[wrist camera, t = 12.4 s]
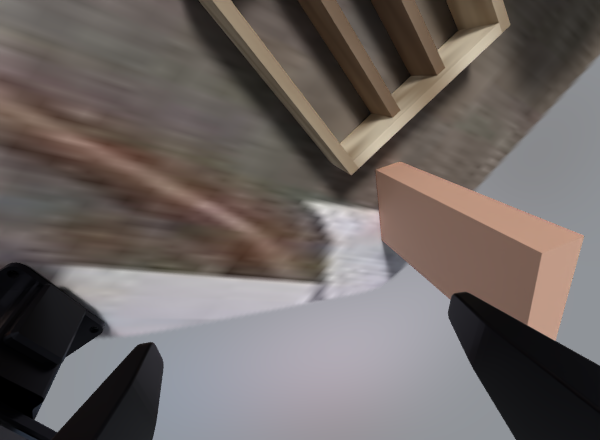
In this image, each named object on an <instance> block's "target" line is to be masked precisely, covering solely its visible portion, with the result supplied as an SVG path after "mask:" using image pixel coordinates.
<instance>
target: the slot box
mask: <svg viewBox="0 0 600 440" xmlns="http://www.w3.org/2000/svg"><path fill="white" fill-rule="evenodd" d="M199 2H200V3H201V4H202V5H203V7H204V8H205V9H206V10H207V12H208V13H209V14H210V15H211V16H212V18H213V19H214V20H215V21H216V23H217V24H218V25H219V26H220V27H221V29H222V30H223V31H224V32H225V34H226V35H227V36H228V37H229V38H230V40H231V41H232V42H233V43H234V45H235V46H236V47H237V48H238V49H239V51H240V52H241V53H242V54H243V56H244V57H245V58H246V59H247V61H248V62H249V63H250V64H251V65H252V67H253V68H254V69H255V70H256V72H257V73H258V74H259V75H260V76H261V78H262V79H263V80H264V81H265V83H266V84H267V85H268V86H269V87H270V89H271V90H272V91H273V92H274V94H275V95H276V96H277V97H278V99H279V100H280V101H281V102H282V103H283V105H284V106H285V107H286V108H287V110H288V111H289V112H290V113H291V114H292V116H293V117H294V118H295V119H296V121H297V122H298V123H299V124H300V125H301V127H302V128H303V129H304V130H305V132H306V133H307V134H308V135H309V136H310V138H311V139H312V140H313V141H314V143H315V144H316V145H317V146H318V148H319V149H320V150H321V151H322V152H323V154H324V155H325V156H326V157H327V159H328V160H329V161H330V162H331V163H332V164H333V165H335V166H337V167H338V168H340V169H341V170H343V171H345V172H346V173H348V174H350V175H352V174H353V173H354V172H355V171H356V170H358V169H359V168H360V167H361V166H362V165H363V164H364V163H365V162H366V161H367V160H368V159H369V158H370V157H371V156H372V155H373V154H374V153H376V152H377V151H378V150H379V149H380V148H381V147H382V146H383V145H384V144H385V143H386V142H387V141H388V140H389V139H390V138H391V137H392V136H394V135H395V134H396V133H397V132H398V131H399V130H400V129H401V128H402V127H403V126H404V125H405V124H406V123H407V122H408V121H409V120H410V119H412V118H413V117H414V116H415V115H416V114H417V113H418V112H419V111H420V110H421V109H422V108H423V107H424V106H425V105H426V104H427V103H428V102H430V101H431V100H432V99H433V98H434V97H435V96H436V95H437V94H438V93H439V92H440V91H441V90H442V89H443V88H444V87H445V86H446V85H448V84H449V83H450V82H451V81H452V80H453V79H454V78H455V77H456V76H457V75H458V74H459V73H460V72H461V71H462V70H463V69H464V68H466V67H467V66H468V65H469V64H470V63H471V62H472V61H473V60H474V59H475V58H476V57H477V56H478V55H479V54H480V53H481V52H482V51H484V50H485V49H486V48H487V47H488V46H489V45H490V44H491V43H492V42H493V41H494V40H495V39H496V38H497V37H498V36H499V35H501V34H502V33H503V32H504V31H505V30H506V29H507V28H508V27H509V26H510V22H509V18H508V15H507V12H506V9H505V5H504V2H503V0H446V2H447V4H448V7H449V9H450V12H451V14H452V16H453V19H454V21H455V24H456V26H457V29H458V31H457V32H456V33H455V34H454V35H453V36H452V37H451V38H450V39H449V40H448V41H447V42H446V43H444V44H443V45H442V46H441V47H440V48H439V49H438V50H437V48H436V46H435V44H434V42H433V40H432V38H431V35H430V33H429V31H428V29H427V27H426V24H425V22H424V20H423V18H422V16H421V13H420V11H419V9H418V7H417V5H416V2H415V0H371V2H372V4H373V6H374V8H375V10H376V11H377V13H378V15H379V17H380V19H381V21H382V23H383V25H384V27H385V28H386V30H387V32H388V34H389V36H390V38H391V40H392V42H393V44H394V45H395V47H396V49H397V51H398V53H399V55H400V57H401V59H402V61H403V62H404V64H405V66H406V68H407V70H408V72H409V74H410V77H409V78H408V79H407V80H406V81H405V82H404V83H403V84H402V85H401V86H400V87H399V88H397V89H396V90H395V91H394V92H393V93H392V94H391V93H390V91H389V90H388V88H387V86H386V85H385V83H384V81H383V80H382V78H381V76H380V74H379V73H378V71H377V69H376V68H375V66H374V64H373V63H372V61H371V59H370V57H369V56H368V54H367V52H366V51H365V49H364V47H363V45H362V44H361V42H360V40H359V39H358V37H357V35H356V34H355V32H354V30H353V28H352V27H351V25H350V23H349V22H348V20H347V18H346V17H345V15H344V13H343V11H342V10H341V8H340V6H339V5H338V3H337V1H336V0H298V2H299V3H300V5H301V6H302V8H303V10H304V11H305V13H306V14H307V16H308V17H309V19H310V20H311V22H312V23H313V25H314V26H315V28H316V29H317V31H318V33H319V34H320V36H321V37H322V39H323V40H324V42H325V43H326V45H327V46H328V48H329V49H330V51H331V53H332V54H333V56H334V57H335V59H336V60H337V62H338V63H339V65H340V66H341V68H342V69H343V71H344V72H345V74H346V76H347V77H348V79H349V80H350V82H351V83H352V85H353V86H354V88H355V89H356V91H357V92H358V94H359V96H360V97H361V99H362V100H363V102H364V103H365V105H366V106H367V108H368V109H369V111H370V112H371V114H370V115H369V116H368V117H367V118H366V119H365V120H364V121H363V122H362V123H361V124H360V125H359V126H358V127H357V128H356V129H355V130H354V131H353V132H351V133H350V134H349V135H348V136H347V137H346V138H345V139H344V140H343V141H342V142H341V143H339V142H338V140H337V139H336V138H335V136H334V135H333V134H332V132H331V131H330V130H329V129H328V127H327V126H326V125H325V123H324V122H323V121H322V119H321V118H320V117H319V115H318V114H317V113H316V111H315V110H314V109H313V108H312V106H311V105H310V104H309V102H308V101H307V100H306V98H305V97H304V96H303V94H302V93H301V92H300V90H299V89H298V88H297V87H296V85H295V84H294V83H293V81H292V80H291V79H290V77H289V76H288V75H287V73H286V72H285V71H284V69H283V68H282V67H281V66H280V64H279V63H278V62H277V60H276V59H275V58H274V56H273V55H272V54H271V52H270V51H269V50H268V48H267V47H266V46H265V45H264V43H263V42H262V41H261V39H260V38H259V37H258V35H257V34H256V33H255V31H254V30H253V29H252V27H251V26H250V25H249V24H248V22H247V21H246V20H245V18H244V17H243V16H242V14H241V13H240V12H239V10H238V9H237V8H236V7H235V5H234V4H233V3H232V1H231V0H199Z"/></svg>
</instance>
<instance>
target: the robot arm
mask: <svg viewBox="0 0 600 440" xmlns="http://www.w3.org/2000/svg"><path fill="white" fill-rule="evenodd" d="M11 270H15V271H17V272H18V273H19V274H14V273H12V272H11ZM448 316H449V319H450V322H451V324H452V326H453V328H454V330H455V332H456V334H457V336H458V339H459V341H460V342H461V345H462V347H463V349H464V351H465V353H466V355H467V358H468V359H469V361H470V363H471V365H472V367H473V369H474V371H475V373H476V374H477V376H478V377H479V379H480V381H481V383H482V384H483V386H484V388H485V389H486V391H487V392H488V394H489V396H490V397H491V399H492V401H493V402H494V404H495V405H496V407H497V409H498V411H499V412H500V414H501V416H502V417H503V419H504V420H505V422H506V424H507V425H508V427H509V429H510V431H511V432H512V434H513V435H514V437H515V439H516V440H600V366H599V365H597V364H596V363H594V362H592V361H590V360H589V359H587V358H585V357H583V356H581V355H580V354H578V353H576V352H574V351H573V350H571V349H569V348H567V347H565V346H563V345H562V344H560V343H558V342H556V341H555V340H553V339H551V338H549V337H547V336H546V335H544V334H542V333H540V332H539V331H537V330H535V329H533V328H531V327H530V326H528V325H526V324H524V323H522V322H521V321H519V320H517V319H515V318H513V317H512V316H510V315H508V314H506V313H504V312H503V311H501V310H499V309H497V308H495V307H494V306H492V305H490V304H488V303H487V302H485V301H483V300H481V299H479V298H478V297H476V296H474V295H472V294H470V293H468V292H458V293H454V294H453V295H452V296H451V301H450V306H449V310H448ZM104 326H105V325H104V322H103V321H101V320H100V319H99V318H97V317H96V316H94V315H93V314H92V313H90V312H89V311H87V310H86V309H85V308H84V307H83V306H81V305H80V304H78V303H77V302H76V301H74V300H73V299H71V298H70V297H69V296H67V295H66V294H64V293H63V292H62V291H60V290H59V289H58V288H56V287H55V286H53V285H51V284H50V283H48V282H47V281H46V280H44V279H43V278H41V277H40V276H39V275H37V274H36V273H34V272H33V271H32V270H30V269H29V268H27V267H26V266H25V265H23V264H21V263H10V264H8V265H7V266H5V267H4V268H2V269H0V440H152V439H153V435H154V430H155V426H156V420H157V414H158V406H159V398H160V390H161V383H162V375H163V359H162V357H161V355H160V353H159V351H158V349H157V347H156V345H155V344H154V343H153V342H149V343H143V344H139V345H137V346H136V347H135V348H134V349H133V350H132V351H131V353H130V354H129V355H128V356H127V357H126V358H125V359H124V360H123V361H122V362H121V364H120V365H119V366H118V367H117V368H116V369H115V370H114V371H113V372H112V373H111V374H110V376H109V377H108V378H107V379H106V380H105V381H104V382H103V383H102V384H101V385H100V387H99V388H98V389H97V390H96V391H95V392H94V393H93V394H92V395H91V396H90V397H89V399H88V400H87V401H86V402H85V403H84V404H83V405H82V406H81V407H80V408H79V409H78V411H77V412H76V413H75V414H74V415H73V416H72V417H71V418H70V419H69V421H68V422H67V423H66V424H65V425H64V426H63V427H62V428H61V429H60V431H59V432H58V433H57V432H55V431H54V430H52V429H50V428H48V427H46V426H44V425H43V424H41V423H39V422H37V421H35V417H36V415H37V413H38V411H39V409H40V407H41V405H42V403H43V401H44V399H45V397H46V395H47V393H48V391H49V389H50V387H51V385H52V382H53V380H54V378H55V376H56V374H57V372H58V370H59V368H60V365H61V363H62V362H63V361H64V359H65V357H67V356H68V355H70V354H71V353H73V352H74V351H76V350H77V349H79V348H80V347H82V346H83V345H85V344H86V343H88V342H89V341H91V340H92V339H94V338H95V337H97V336H98V335H100V334H101V333H102V332H103V329H104ZM92 327H97V329H94V328H92Z"/></svg>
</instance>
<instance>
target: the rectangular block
mask: <svg viewBox="0 0 600 440" xmlns="http://www.w3.org/2000/svg"><path fill="white" fill-rule="evenodd" d="M375 171H376V182H377V193H378V204H379V215H380V226H381V237H382V241H383V242H384V243H385V244H387V245H388V246H389V247H390V248H391V249H392V250H394V251H395V252H396V253H397V254H398V255H399V256H401V257H402V258H403V259H404V260H405V261H406V262H407V263H409V264H410V265H411V266H412V267H413V268H414V269H416V270H417V271H418V272H419V273H420V274H421V275H423V276H424V277H425V278H426V279H427V280H428V281H430V282H431V283H432V284H433V285H434V286H435V287H436V288H438V289H439V290H440V291H441V292H442V293H443V294H444V295H446V296H447V297H448V298H449V299H450V300H451V296H452V295H453V294H454V293H458V292H468V293H470V294H472V295H474V296H476V297H478V298H479V299H481V300H483V301H485V302H487V303H488V304H490V305H492V306H494V307H495V308H497V309H499V310H501V311H503V312H504V313H506V314H508V315H510V316H512V317H513V318H515V319H517V320H519V321H521V322H522V323H524V324H526V325H528V326H530V327H531V328H533V329H535V330H537V331H539V332H540V333H542V334H544V335H546V336H547V337H549V338H551V339H553V340H555V341H556V337H557V333H558V330H559V326H560V322H561V319H562V315H563V311H564V308H565V304H566V300H567V297H568V293H569V290H570V286H571V282H572V279H573V275H574V271H575V267H576V264H577V260H578V257H579V253H580V249H581V246H582V242H583V238H584V236H583V235H581V234H578V233H576V232H573V231H571V230H568V229H566V228H564V227H561V226H559V225H556V224H554V223H551V222H548V221H546V220H543V219H541V218H538V217H536V216H534V215H531V214H529V213H526V212H524V211H521V210H519V209H516V208H514V207H511V206H509V205H506V204H504V203H502V202H499V201H497V200H494V199H492V198H489V197H486V196H484V195H482V194H479V193H477V192H474V191H472V190H469V189H467V188H464V187H462V186H459V185H457V184H454V183H452V182H449V181H447V180H444V179H442V178H439V177H437V176H435V175H432V174H430V173H427V172H425V171H422V170H420V169H417V168H415V167H412V166H410V165H407V164H405V163H402V162H398V163H394V164H391V165H388V166H385V167H382V168H379V169H375Z"/></svg>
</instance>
